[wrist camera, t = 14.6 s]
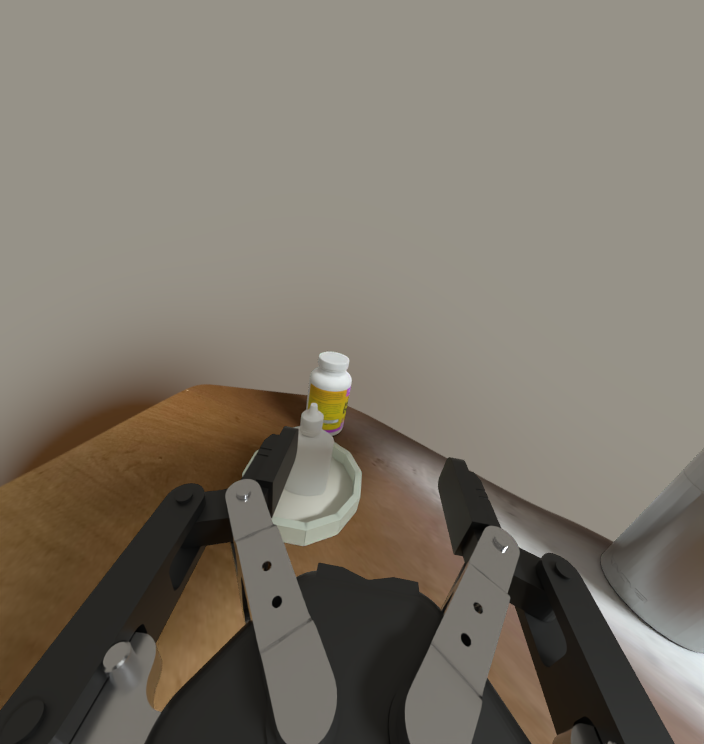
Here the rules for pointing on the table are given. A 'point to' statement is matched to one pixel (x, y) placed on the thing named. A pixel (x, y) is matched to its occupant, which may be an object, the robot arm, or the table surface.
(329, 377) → the supplement bottle
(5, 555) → the table surface
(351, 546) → the table surface
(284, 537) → the dish
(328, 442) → the eye dropper bottle
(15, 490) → the table surface
